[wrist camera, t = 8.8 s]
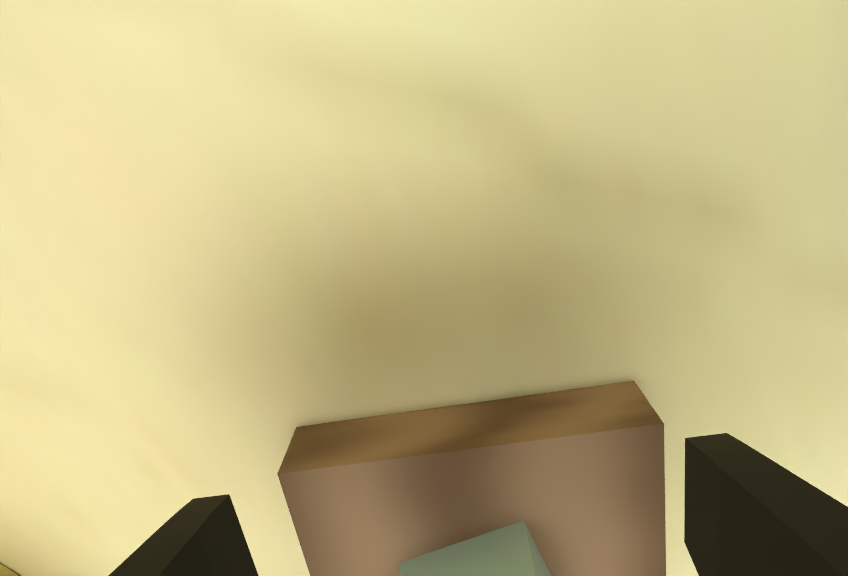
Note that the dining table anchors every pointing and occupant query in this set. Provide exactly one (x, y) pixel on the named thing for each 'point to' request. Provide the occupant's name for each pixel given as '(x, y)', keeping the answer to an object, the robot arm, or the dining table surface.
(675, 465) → the dining table surface
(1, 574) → the potted cactus
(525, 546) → the sage block
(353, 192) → the dining table surface
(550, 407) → the walnut box
